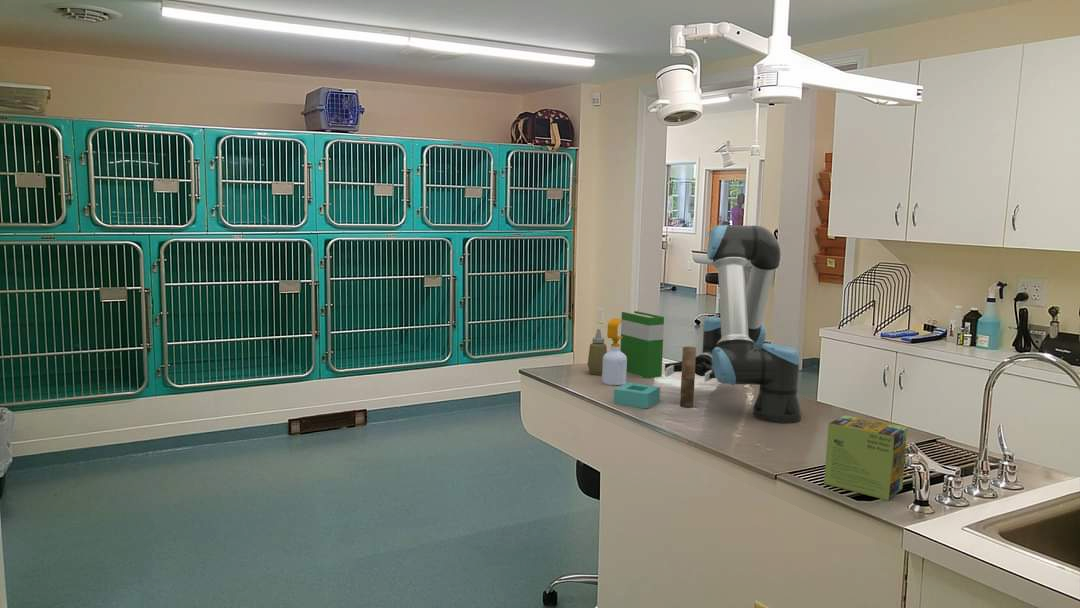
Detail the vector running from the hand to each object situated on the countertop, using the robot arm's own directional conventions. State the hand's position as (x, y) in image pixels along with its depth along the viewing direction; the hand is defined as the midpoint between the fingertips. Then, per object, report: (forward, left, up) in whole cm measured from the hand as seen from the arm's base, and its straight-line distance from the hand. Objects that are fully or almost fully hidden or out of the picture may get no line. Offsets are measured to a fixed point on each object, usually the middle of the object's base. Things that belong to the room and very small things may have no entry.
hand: (685, 375), depth 249 cm
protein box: (-60, +47, -11) cm, 77 cm away
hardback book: (+32, -41, -11) cm, 53 cm away
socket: (+16, +3, -11) cm, 19 cm away
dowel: (0, -2, -11) cm, 11 cm away
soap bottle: (+34, -19, -11) cm, 40 cm away
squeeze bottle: (+46, -30, -11) cm, 56 cm away
